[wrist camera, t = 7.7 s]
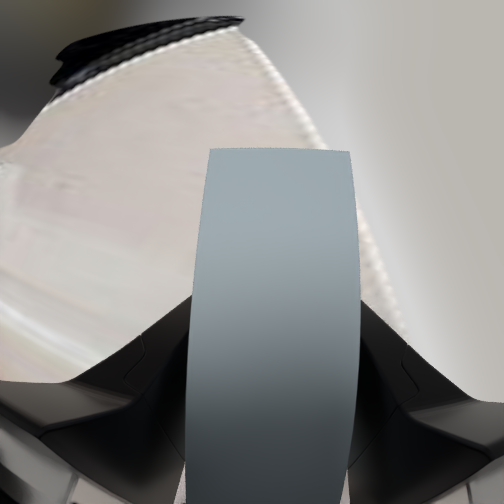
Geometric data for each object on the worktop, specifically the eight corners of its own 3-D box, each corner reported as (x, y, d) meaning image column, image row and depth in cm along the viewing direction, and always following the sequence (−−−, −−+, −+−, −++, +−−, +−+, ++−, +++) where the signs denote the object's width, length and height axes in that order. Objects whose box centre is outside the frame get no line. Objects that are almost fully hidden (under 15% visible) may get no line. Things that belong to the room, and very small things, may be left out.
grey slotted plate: (302, 415, 14) (335, 517, 4) (239, 412, 14) (186, 509, 4) (309, 256, 16) (349, 151, 7) (247, 255, 16) (210, 149, 7)
